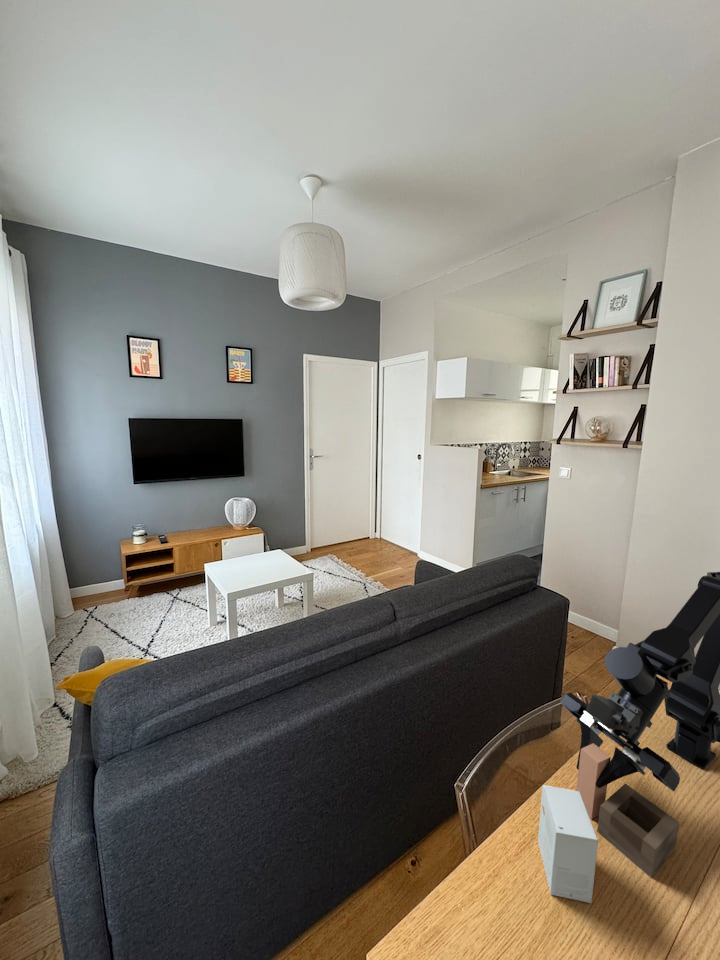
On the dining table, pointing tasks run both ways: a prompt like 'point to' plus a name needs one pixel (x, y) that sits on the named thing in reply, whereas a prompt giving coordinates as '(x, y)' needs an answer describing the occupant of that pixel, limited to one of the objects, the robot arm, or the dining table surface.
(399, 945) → the dining table surface
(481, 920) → the dining table surface
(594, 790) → the peg
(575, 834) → the small box
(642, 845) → the socket block
